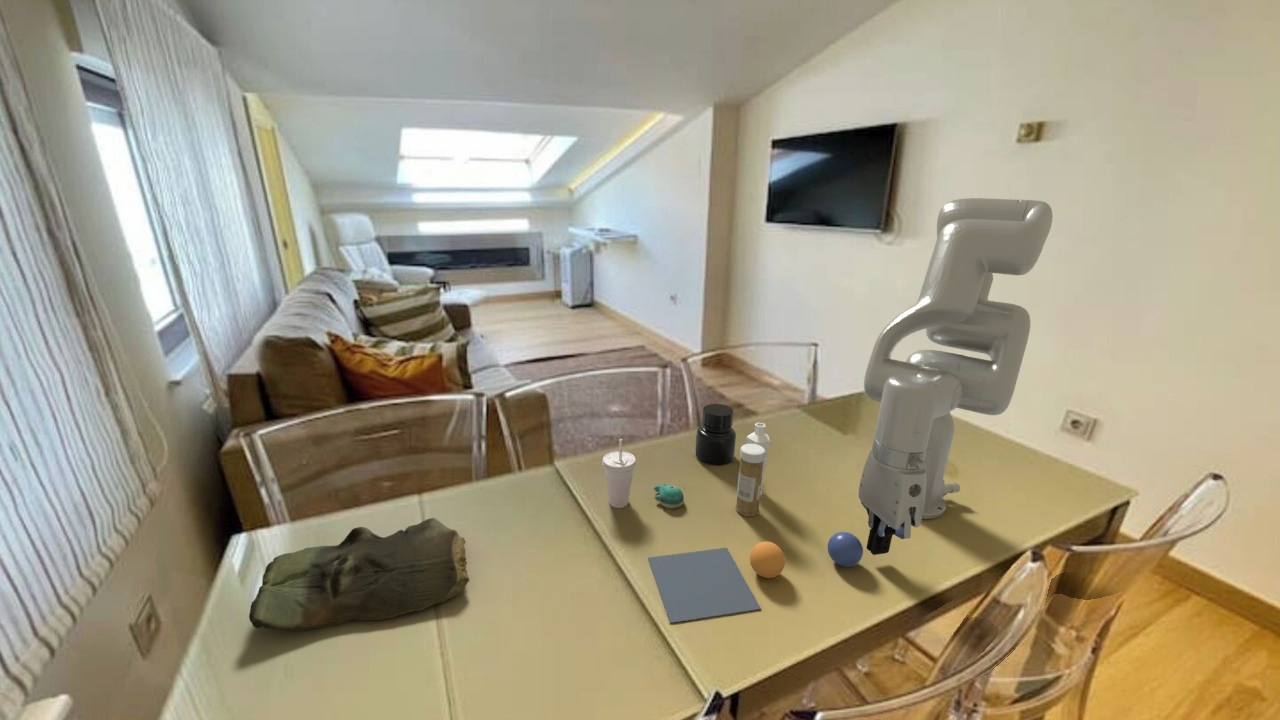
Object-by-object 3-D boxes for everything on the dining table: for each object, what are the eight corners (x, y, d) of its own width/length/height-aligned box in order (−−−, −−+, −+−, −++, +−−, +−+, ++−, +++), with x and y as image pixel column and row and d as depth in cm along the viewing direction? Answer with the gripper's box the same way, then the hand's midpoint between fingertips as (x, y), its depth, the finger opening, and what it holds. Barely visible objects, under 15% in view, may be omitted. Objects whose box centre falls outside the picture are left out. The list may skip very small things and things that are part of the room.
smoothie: (610, 515, 99) (611, 449, 95) (597, 497, 105) (597, 434, 100) (640, 506, 102) (642, 442, 98) (626, 490, 107) (627, 428, 103)
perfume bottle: (739, 494, 107) (746, 427, 102) (744, 483, 111) (750, 418, 106) (762, 499, 106) (770, 432, 101) (766, 488, 109) (773, 423, 105)
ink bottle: (729, 447, 126) (733, 401, 122) (740, 465, 118) (745, 417, 114) (689, 448, 125) (692, 402, 121) (698, 467, 117) (701, 418, 113)
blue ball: (847, 550, 91) (852, 523, 90) (867, 571, 86) (872, 544, 85) (819, 553, 90) (823, 526, 88) (837, 576, 85) (842, 548, 83)
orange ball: (773, 560, 88) (777, 532, 87) (789, 583, 83) (793, 554, 82) (743, 564, 87) (745, 536, 86) (756, 588, 82) (760, 559, 80)
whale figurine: (663, 514, 100) (664, 496, 99) (646, 494, 107) (647, 477, 106) (689, 507, 103) (690, 490, 102) (671, 488, 109) (672, 472, 108)
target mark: (726, 548, 91) (726, 547, 91) (760, 609, 78) (761, 608, 78) (648, 558, 88) (648, 557, 88) (670, 623, 75) (670, 622, 75)
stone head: (469, 592, 76) (239, 626, 67) (469, 628, 80) (252, 664, 71) (467, 496, 92) (280, 513, 83) (467, 530, 96) (290, 550, 87)
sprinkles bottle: (763, 512, 101) (770, 450, 97) (746, 520, 99) (753, 456, 95) (746, 500, 105) (753, 440, 101) (729, 507, 102) (735, 446, 98)
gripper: (955, 474, 77) (929, 578, 82) (886, 431, 91) (867, 522, 96) (911, 479, 75) (888, 585, 80) (848, 434, 89) (831, 527, 94)
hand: (877, 550), depth 88 cm, fingers closed
